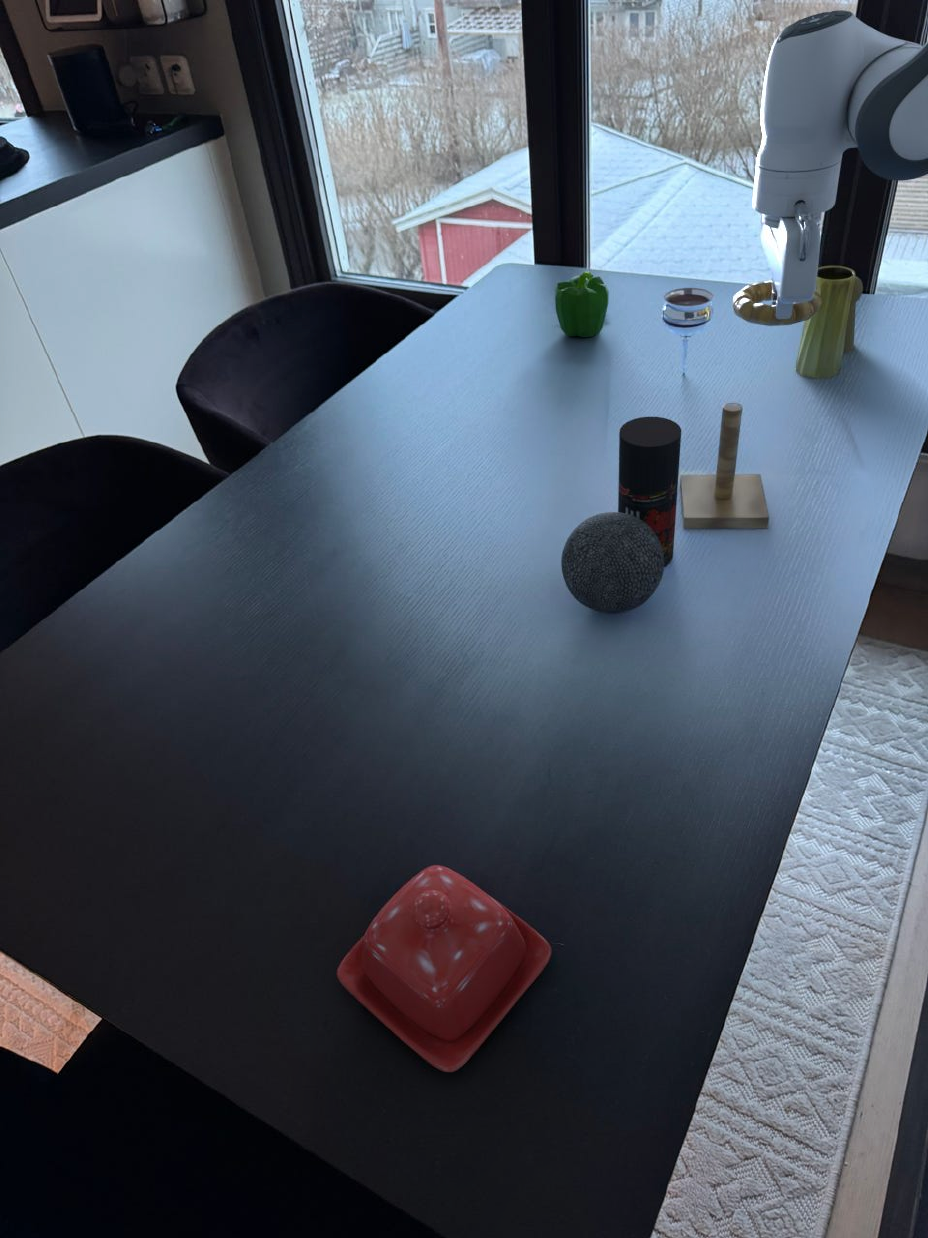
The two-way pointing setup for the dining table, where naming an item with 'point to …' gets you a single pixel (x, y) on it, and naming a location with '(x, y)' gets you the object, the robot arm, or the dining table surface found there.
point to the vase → (826, 324)
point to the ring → (770, 306)
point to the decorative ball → (612, 562)
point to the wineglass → (687, 313)
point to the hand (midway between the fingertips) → (780, 310)
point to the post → (724, 487)
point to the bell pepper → (581, 305)
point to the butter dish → (443, 965)
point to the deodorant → (650, 475)
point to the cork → (852, 316)
